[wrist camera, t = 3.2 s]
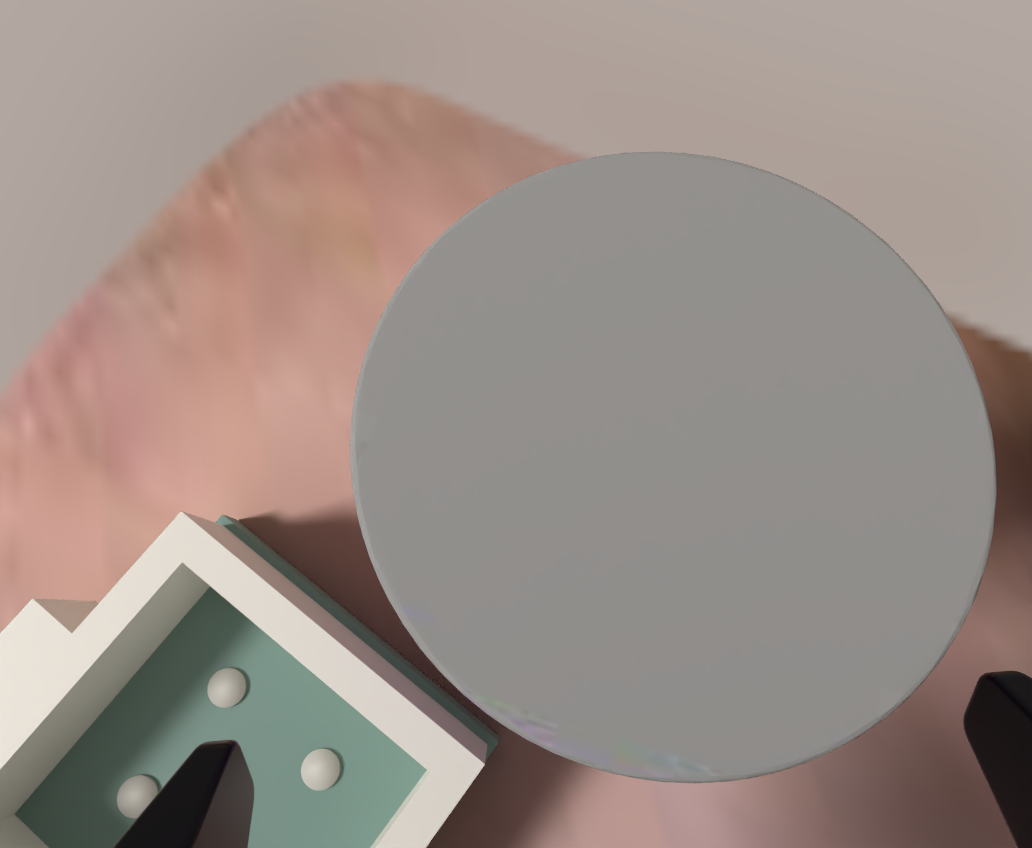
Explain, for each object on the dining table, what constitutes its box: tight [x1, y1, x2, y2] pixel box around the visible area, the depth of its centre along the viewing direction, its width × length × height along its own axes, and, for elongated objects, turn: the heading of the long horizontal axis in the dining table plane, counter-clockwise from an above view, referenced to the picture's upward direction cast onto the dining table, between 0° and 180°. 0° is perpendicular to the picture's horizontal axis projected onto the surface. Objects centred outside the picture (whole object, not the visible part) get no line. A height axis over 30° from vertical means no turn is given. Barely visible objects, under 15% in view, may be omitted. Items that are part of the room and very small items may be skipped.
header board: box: [0, 511, 499, 848], centre depth 16 cm, size 10×9×4 cm
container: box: [350, 152, 997, 783], centre depth 12 cm, size 5×5×15 cm
